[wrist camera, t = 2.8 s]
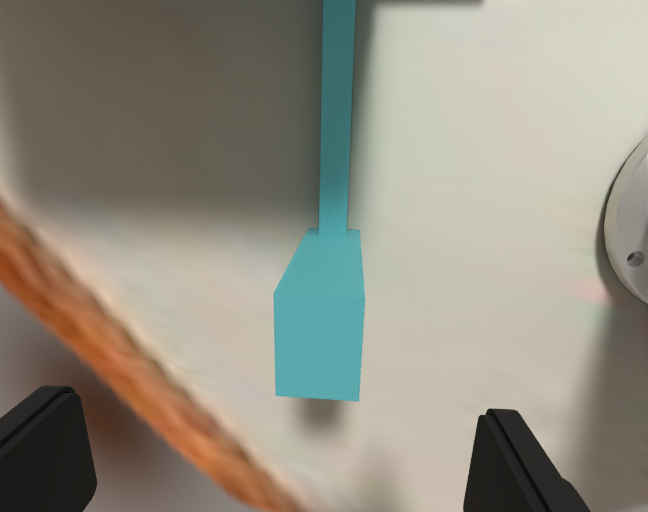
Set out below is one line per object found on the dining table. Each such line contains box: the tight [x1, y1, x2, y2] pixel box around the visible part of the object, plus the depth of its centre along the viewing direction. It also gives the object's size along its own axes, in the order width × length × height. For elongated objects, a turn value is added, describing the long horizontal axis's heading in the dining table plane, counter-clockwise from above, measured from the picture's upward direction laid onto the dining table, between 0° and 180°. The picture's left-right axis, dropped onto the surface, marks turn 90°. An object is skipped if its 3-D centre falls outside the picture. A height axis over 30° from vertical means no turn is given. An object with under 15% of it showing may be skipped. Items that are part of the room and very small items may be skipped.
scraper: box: [274, 0, 365, 401], centre depth 15 cm, size 19×14×10 cm
